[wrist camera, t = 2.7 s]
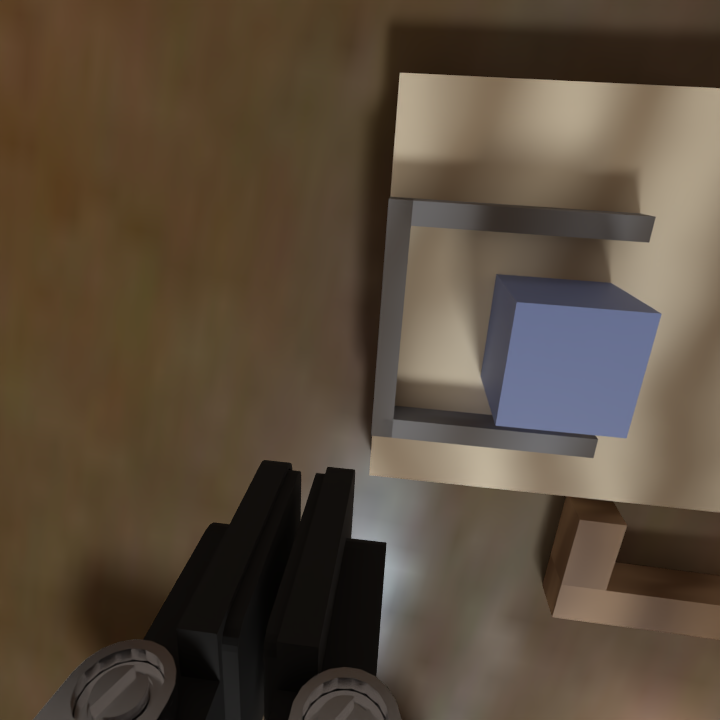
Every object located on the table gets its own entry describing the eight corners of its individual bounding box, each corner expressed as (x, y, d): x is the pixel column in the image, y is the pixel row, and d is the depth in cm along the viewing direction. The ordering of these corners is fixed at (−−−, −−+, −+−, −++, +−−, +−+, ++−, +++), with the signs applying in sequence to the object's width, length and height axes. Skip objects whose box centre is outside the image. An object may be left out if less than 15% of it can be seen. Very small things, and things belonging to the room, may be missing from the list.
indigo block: (611, 282, 23) (661, 313, 18) (586, 386, 24) (626, 438, 20) (496, 274, 23) (516, 302, 18) (480, 376, 25) (495, 425, 20)
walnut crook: (789, 519, 28) (821, 549, 26) (746, 611, 31) (772, 647, 28) (567, 492, 29) (579, 519, 27) (542, 584, 31) (552, 617, 29)
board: (1023, 111, 21) (1138, 101, 17) (836, 503, 27) (893, 549, 24) (400, 80, 22) (398, 66, 19) (372, 455, 29) (366, 491, 26)
